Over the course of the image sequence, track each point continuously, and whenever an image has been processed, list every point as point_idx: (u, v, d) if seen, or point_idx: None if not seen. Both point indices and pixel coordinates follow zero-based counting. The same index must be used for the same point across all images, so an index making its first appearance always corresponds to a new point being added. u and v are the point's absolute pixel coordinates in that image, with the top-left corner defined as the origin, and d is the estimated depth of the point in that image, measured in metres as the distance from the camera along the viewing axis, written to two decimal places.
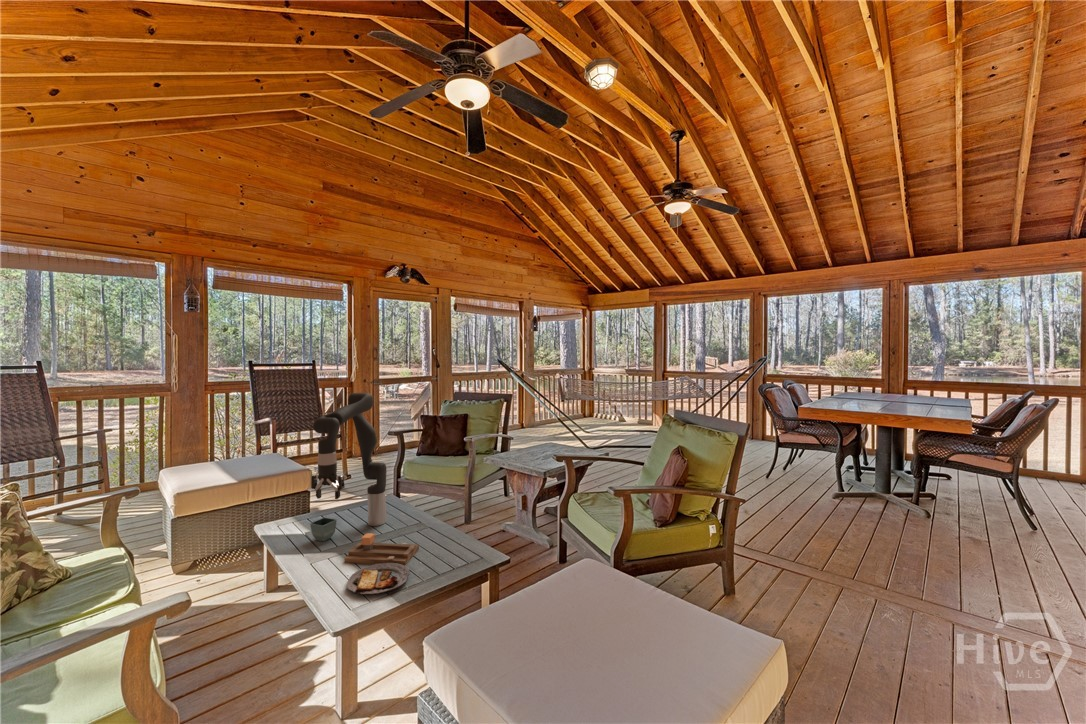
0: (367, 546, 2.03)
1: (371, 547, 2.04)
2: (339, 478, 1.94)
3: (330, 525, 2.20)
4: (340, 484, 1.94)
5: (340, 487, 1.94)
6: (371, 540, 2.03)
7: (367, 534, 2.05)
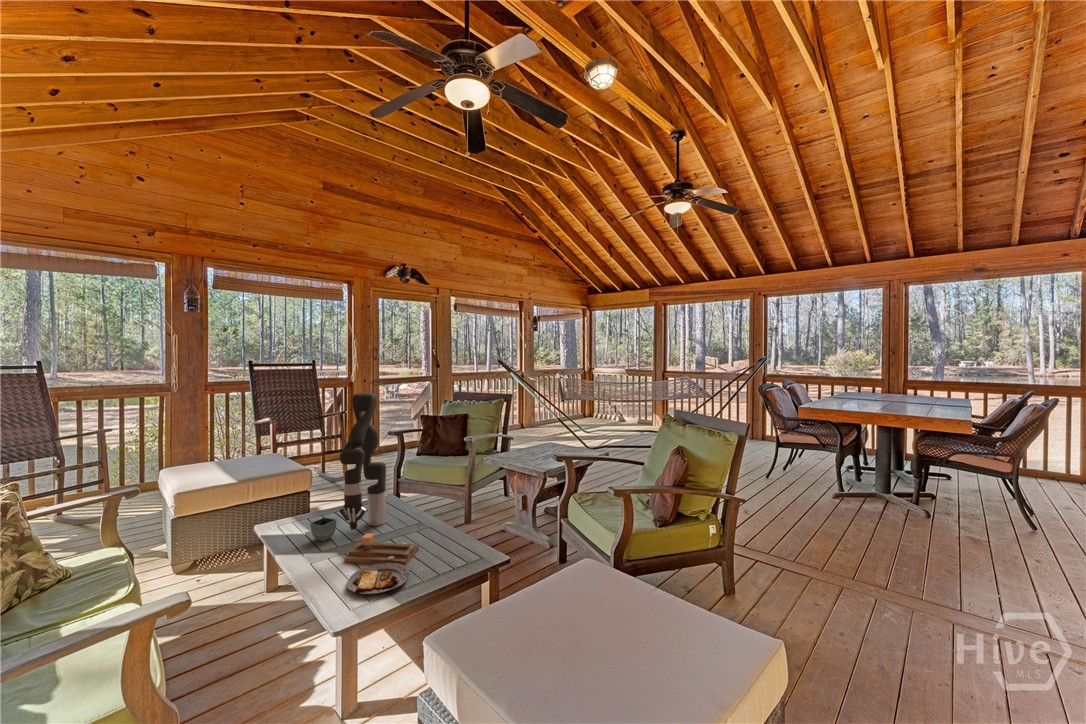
0: (367, 546, 2.03)
1: (371, 547, 2.04)
2: (363, 512, 2.03)
3: (330, 525, 2.20)
4: (360, 516, 2.03)
5: (358, 519, 2.03)
6: (371, 540, 2.03)
7: (367, 534, 2.05)
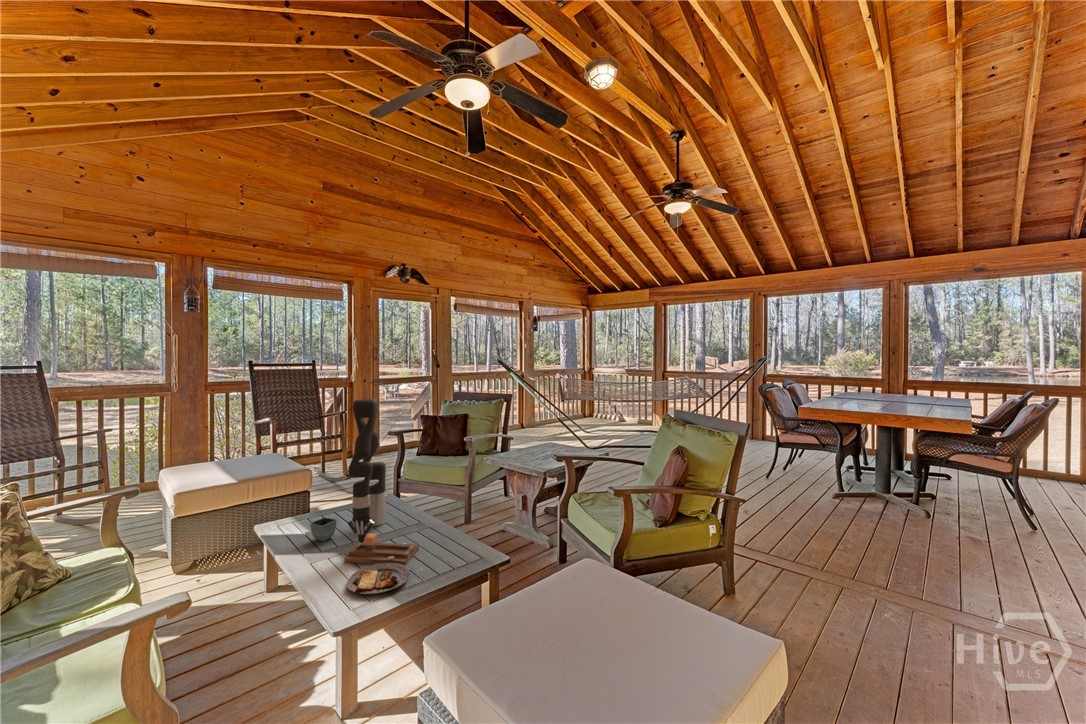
0: (370, 546, 2.03)
1: (374, 547, 2.04)
2: (371, 525, 2.02)
3: (330, 525, 2.20)
4: (368, 529, 2.03)
5: (366, 531, 2.03)
6: (374, 540, 2.03)
7: (370, 534, 2.05)
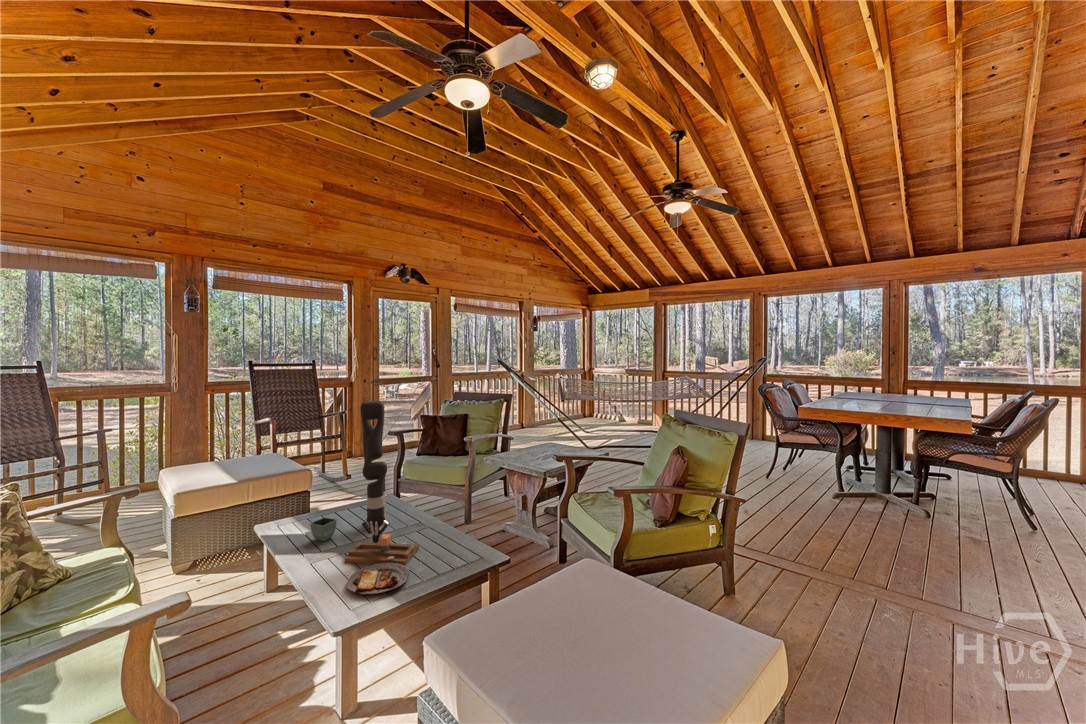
0: (384, 547, 2.02)
1: (388, 548, 2.03)
2: (385, 525, 2.02)
3: (330, 525, 2.20)
4: (382, 530, 2.02)
5: (380, 532, 2.02)
6: (388, 541, 2.02)
7: (384, 535, 2.05)
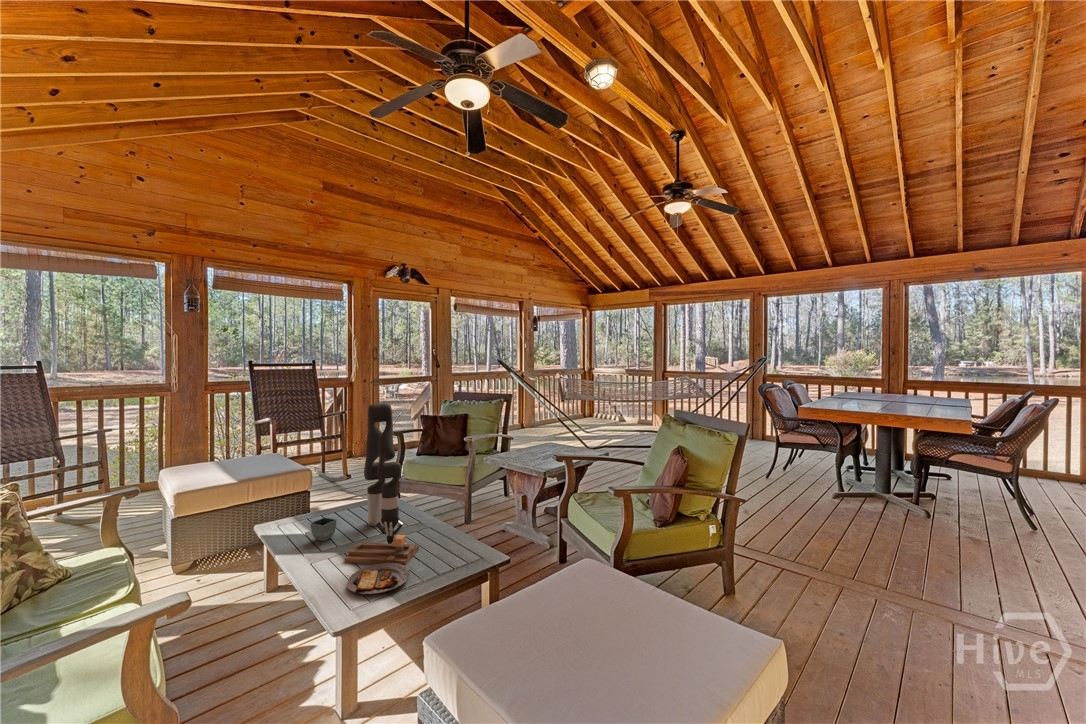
0: (399, 547, 2.01)
1: (402, 548, 2.03)
2: (400, 526, 2.01)
3: (330, 525, 2.20)
4: (397, 530, 2.01)
5: (395, 533, 2.01)
6: (402, 541, 2.02)
7: (398, 535, 2.04)
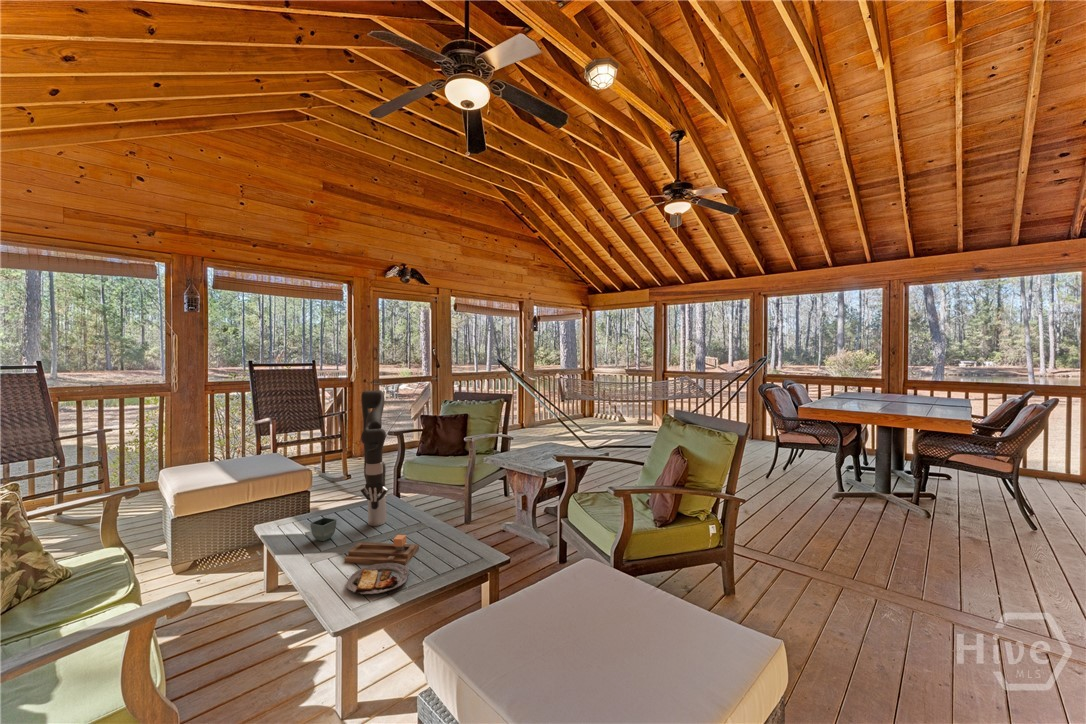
0: (399, 547, 2.01)
1: (403, 548, 2.03)
2: (384, 492, 2.02)
3: (330, 525, 2.20)
4: (381, 496, 2.03)
5: (379, 498, 2.03)
6: (403, 541, 2.02)
7: (398, 535, 2.04)
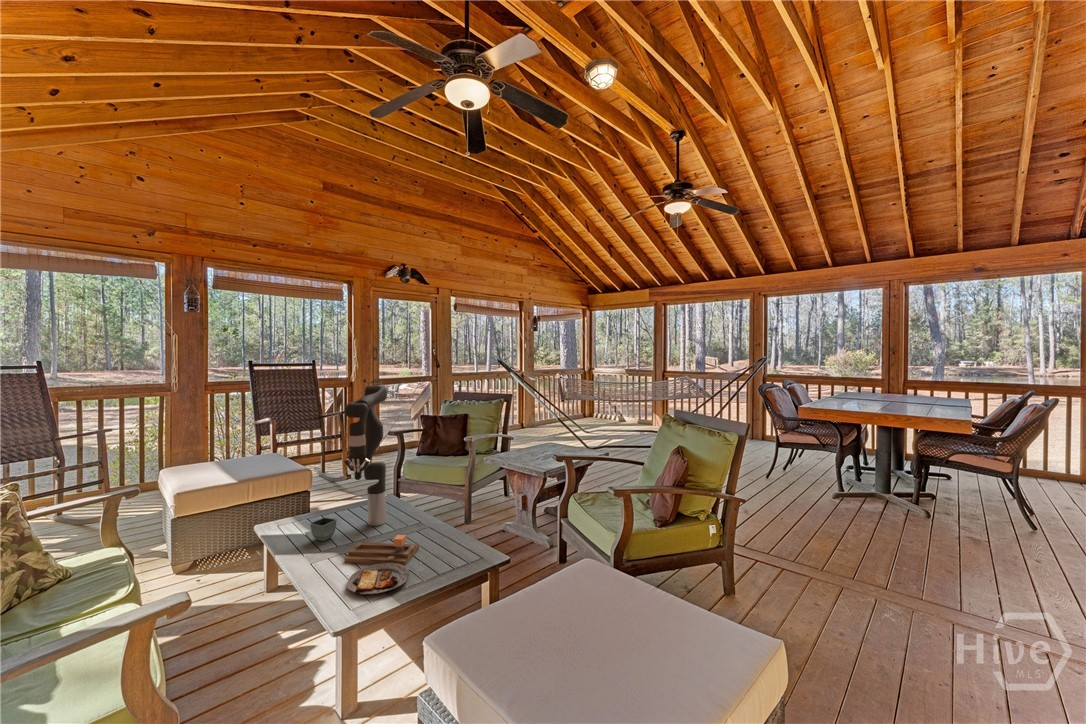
0: (399, 547, 2.01)
1: (403, 548, 2.03)
2: (367, 463, 2.12)
3: (330, 525, 2.20)
4: (364, 467, 2.13)
5: (362, 469, 2.13)
6: (403, 541, 2.02)
7: (398, 535, 2.04)
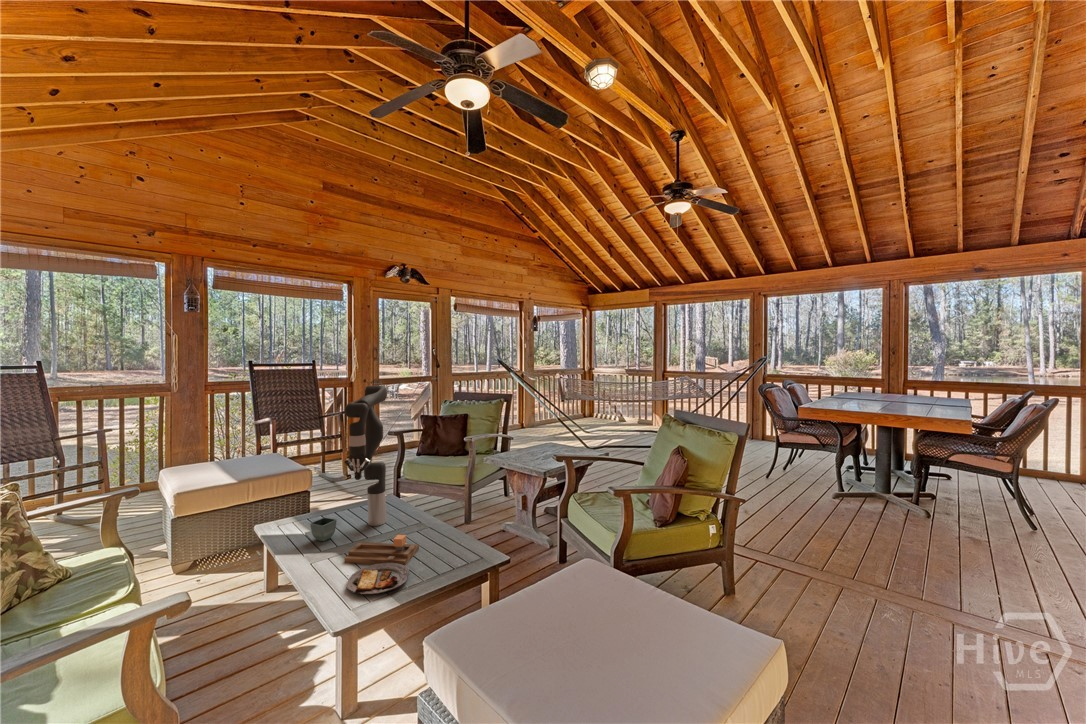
0: (399, 547, 2.01)
1: (403, 548, 2.03)
2: (367, 463, 2.12)
3: (330, 525, 2.20)
4: (364, 467, 2.13)
5: (362, 469, 2.13)
6: (403, 541, 2.02)
7: (398, 535, 2.04)
